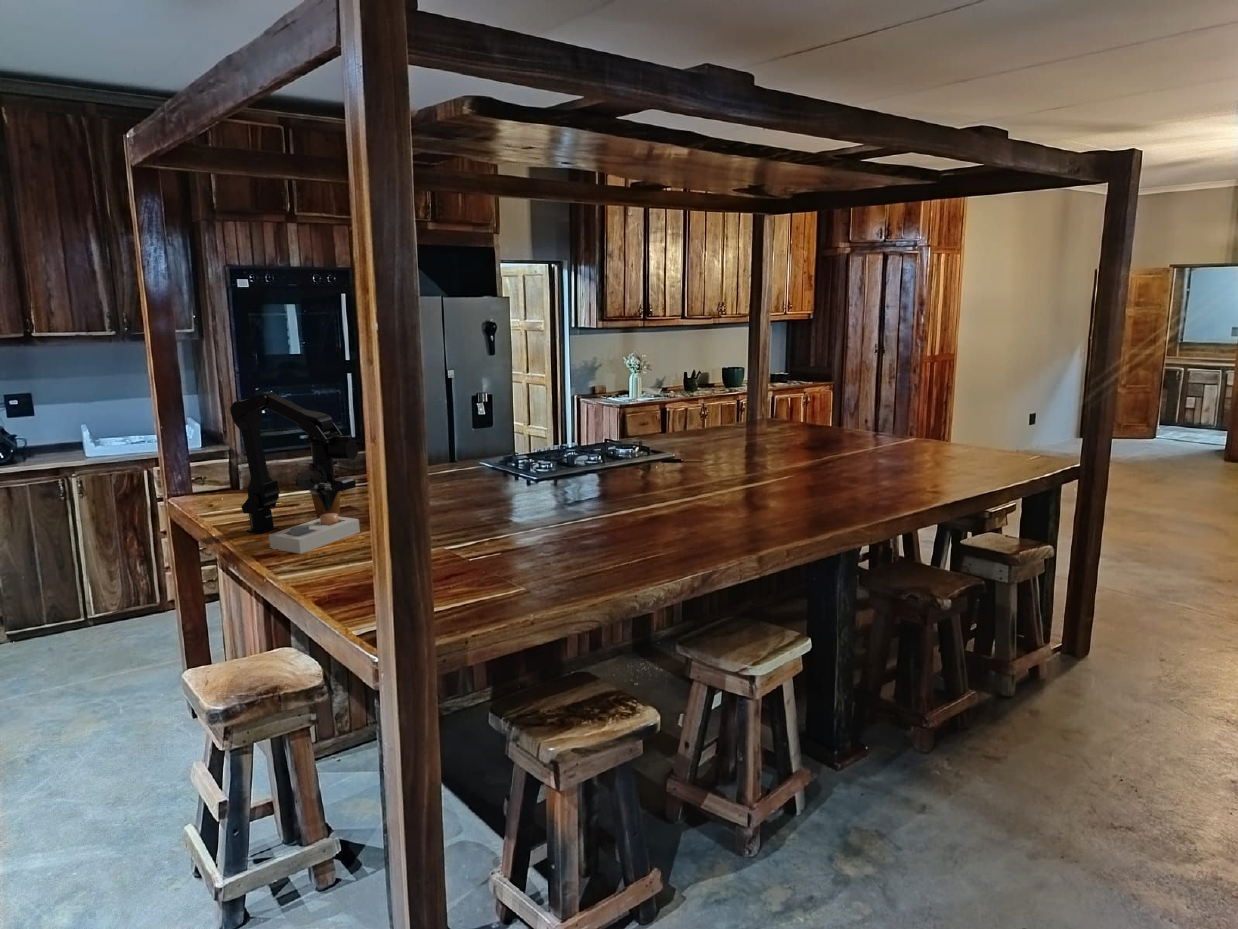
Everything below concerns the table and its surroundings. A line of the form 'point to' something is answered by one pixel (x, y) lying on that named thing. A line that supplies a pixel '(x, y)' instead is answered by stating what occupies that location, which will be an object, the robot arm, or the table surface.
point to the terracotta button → (329, 519)
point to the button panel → (314, 535)
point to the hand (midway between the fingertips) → (328, 510)
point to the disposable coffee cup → (320, 508)
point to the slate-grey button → (299, 530)
